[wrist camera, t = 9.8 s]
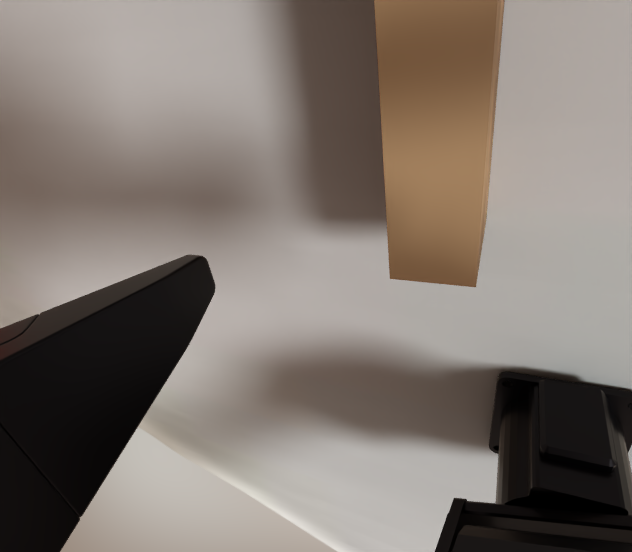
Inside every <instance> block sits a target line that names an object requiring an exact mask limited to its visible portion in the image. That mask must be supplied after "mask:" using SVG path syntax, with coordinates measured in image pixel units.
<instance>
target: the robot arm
mask: <svg viewBox="0 0 632 552" xmlns="http://www.w3.org/2000/svg"><path fill="white" fill-rule="evenodd" d="M214 293H215V282H214V279H213V276H212V273H211V270H210V267H209V264H208V261H207V260H206V258H205V257H203V256H199V255H186V256H183V257H181V258H178V259H176V260H173V261H171V262H168V263H166V264H163V265H161V266H158V267H156V268H153V269H151V270H148V271H146V272H143V273H140V274H138V275H135V276H133V277H130V278H128V279H125V280H123V281H120V282H118V283H115V284H113V285H110V286H108V287H105V288H103V289H100V290H97V291H95V292H92V293H90V294H87V295H85V296H82V297H80V298H77V299H75V300H72V301H70V302H67V303H65V304H62V305H60V306H57V307H54V308H52V309H49V310H47V311H44V312H42V313H41V314H40V315H38V314H37V315H34V316H32V317H29V318H27V319H24V320H21V321H19V322H16V323H14V324H11V325H8V326H6V327H3V328H1V329H0V552H60V551H61V549H62V548H63V546H64V544H65V543H66V541H67V540H68V538H69V536H70V535H71V533H72V532H73V530H74V529H75V527H76V525H77V524H78V522H79V521H80V517H81V516H82V515H83V514H84V512H85V510H86V509H87V507H88V506H89V504H90V502H91V501H92V499H93V498H94V496H95V494H96V493H97V491H98V490H99V488H100V486H101V485H102V483H103V482H104V480H105V478H106V477H107V475H108V474H109V472H110V470H111V469H112V467H113V466H114V464H115V462H116V461H117V459H118V457H119V456H120V454H121V453H122V451H123V450H124V448H125V446H126V445H127V443H128V442H129V440H130V438H131V437H132V435H133V434H134V432H135V430H136V429H137V427H138V426H139V424H140V422H141V421H142V419H143V418H144V416H145V414H146V413H147V411H148V410H149V408H150V406H151V405H152V403H153V402H154V400H155V398H156V397H157V395H158V394H159V392H160V390H161V389H162V387H163V386H164V384H165V382H166V381H167V379H168V378H169V376H170V374H171V373H172V371H173V370H174V368H175V366H176V365H177V363H178V362H179V360H180V358H181V357H182V355H183V354H184V352H185V350H186V349H187V347H188V345H189V343H190V342H191V340H192V338H193V336H194V334H195V332H196V330H197V328H198V326H199V324H200V322H201V320H202V318H203V316H204V314H205V312H206V310H207V307H208V305H209V303H210V301H211V299H212V297H213V295H214ZM506 381H510V382H506ZM631 445H632V392H628V391H622V390H616V389H610V388H604V387H598V386H592V385H586V384H580V383H573V382H567V381H561V380H555V379H549V378H543V377H537V376H531V375H525V374H518V373H512V372H502V373H500V374H499V375H498V379H497V386H496V394H495V402H494V409H493V417H492V425H491V433H490V440H489V448H490V450H491V451H493V452H495V453H498V454H499V455H498V472H497V490H496V504H495V503H484V502H472V501H467V500H466V499H461V498H454V500H453V502H452V505H451V508H450V511H449V513H448V515H447V518H446V521H445V524H444V526H443V529H442V532H441V535H440V538H439V541H438V544H437V547H436V550H435V552H632V473H631V468H630V462H629V457H628V452H629V449H630V447H631Z"/></svg>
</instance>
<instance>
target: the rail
mask: <svg viewBox="0 0 632 552" xmlns="http://www.w3.org/2000/svg"><path fill="white" fill-rule="evenodd" d="M374 6H375V23H376V41H377V58H378V76H379V94H380V111H381V129H382V146H383V164H384V182H385V199H386V217H387V234H388V252H389V270H390V279H398V280H409V281H419V282H429V283H439V284H449V285H459V286H469V287H476V282H477V276H478V269H479V263H480V256H481V250H482V243H483V237H484V230H485V224H486V215H487V203H488V191H489V179H490V167H491V155H492V144H493V132H494V120H495V108H496V96H497V84H498V72H499V60H500V48H501V36H502V24H503V12H504V0H374Z"/></svg>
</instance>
